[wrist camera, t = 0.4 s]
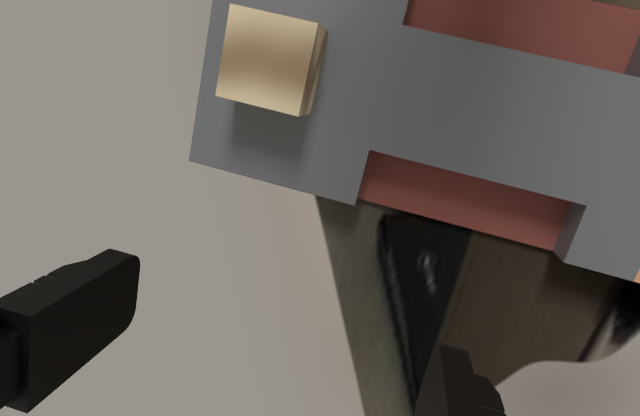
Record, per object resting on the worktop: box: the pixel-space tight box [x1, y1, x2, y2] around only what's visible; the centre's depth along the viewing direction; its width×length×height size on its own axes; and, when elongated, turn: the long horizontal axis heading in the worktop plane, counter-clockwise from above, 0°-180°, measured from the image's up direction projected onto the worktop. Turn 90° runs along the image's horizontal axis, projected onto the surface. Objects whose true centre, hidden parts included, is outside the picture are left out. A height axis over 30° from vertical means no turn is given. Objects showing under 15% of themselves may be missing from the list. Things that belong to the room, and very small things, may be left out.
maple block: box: [215, 3, 328, 117], centre depth 32 cm, size 6×6×4 cm
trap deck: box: [189, 0, 640, 283], centre depth 32 cm, size 18×44×6 cm, turn 77°
